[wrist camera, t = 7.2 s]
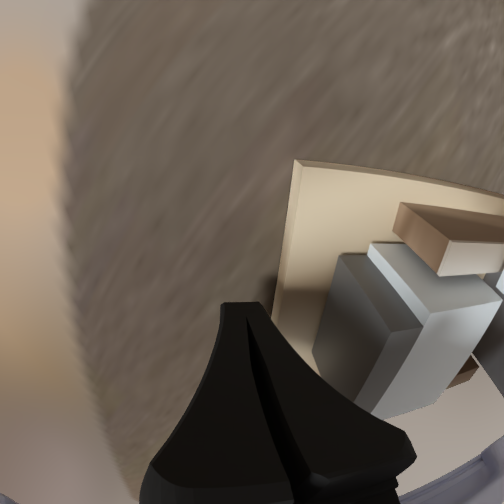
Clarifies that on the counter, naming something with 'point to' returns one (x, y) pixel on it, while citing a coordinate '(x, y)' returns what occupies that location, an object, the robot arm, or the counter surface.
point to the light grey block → (398, 329)
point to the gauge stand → (385, 232)
